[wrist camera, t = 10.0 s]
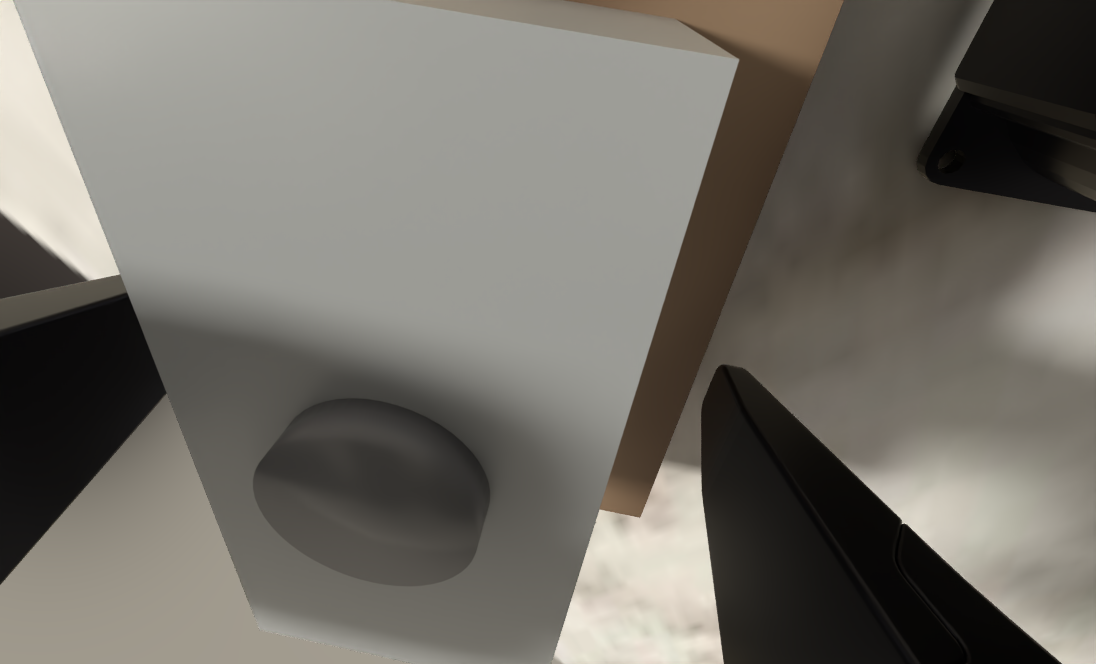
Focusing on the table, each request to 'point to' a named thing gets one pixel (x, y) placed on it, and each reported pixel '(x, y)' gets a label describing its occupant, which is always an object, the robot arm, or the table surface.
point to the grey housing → (393, 282)
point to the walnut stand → (717, 205)
